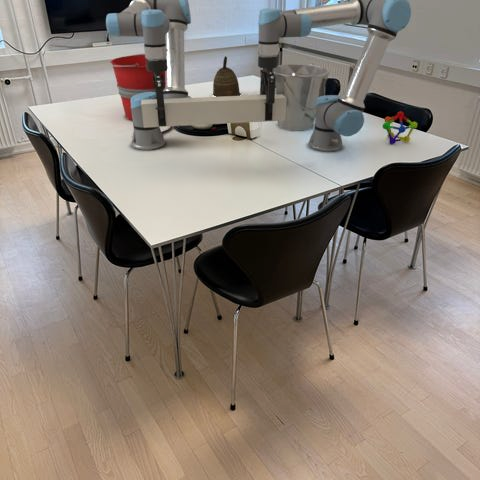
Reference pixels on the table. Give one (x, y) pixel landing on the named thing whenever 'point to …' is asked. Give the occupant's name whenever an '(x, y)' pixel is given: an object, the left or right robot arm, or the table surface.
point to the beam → (213, 110)
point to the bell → (225, 82)
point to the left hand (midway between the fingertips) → (162, 123)
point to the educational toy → (398, 128)
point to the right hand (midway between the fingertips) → (266, 117)
